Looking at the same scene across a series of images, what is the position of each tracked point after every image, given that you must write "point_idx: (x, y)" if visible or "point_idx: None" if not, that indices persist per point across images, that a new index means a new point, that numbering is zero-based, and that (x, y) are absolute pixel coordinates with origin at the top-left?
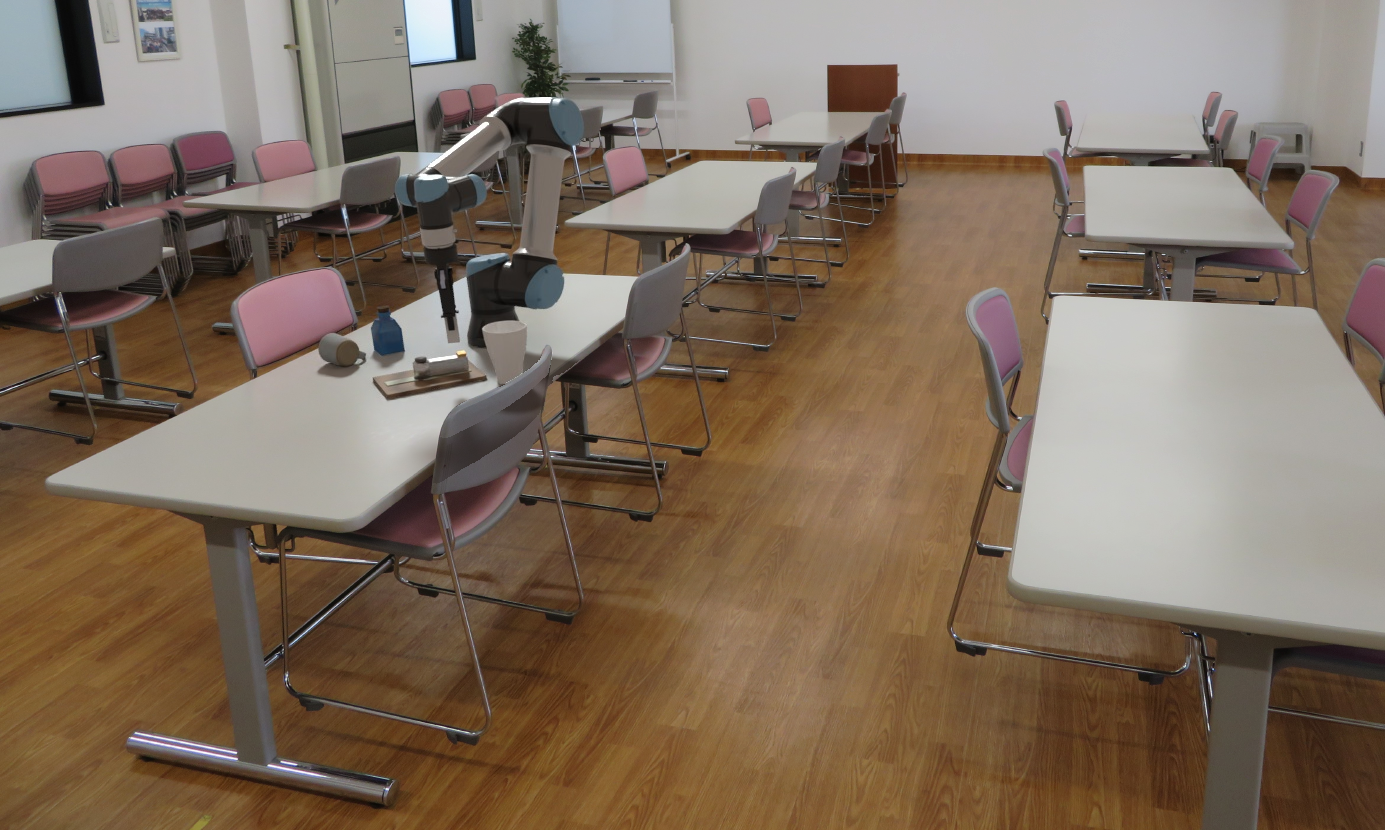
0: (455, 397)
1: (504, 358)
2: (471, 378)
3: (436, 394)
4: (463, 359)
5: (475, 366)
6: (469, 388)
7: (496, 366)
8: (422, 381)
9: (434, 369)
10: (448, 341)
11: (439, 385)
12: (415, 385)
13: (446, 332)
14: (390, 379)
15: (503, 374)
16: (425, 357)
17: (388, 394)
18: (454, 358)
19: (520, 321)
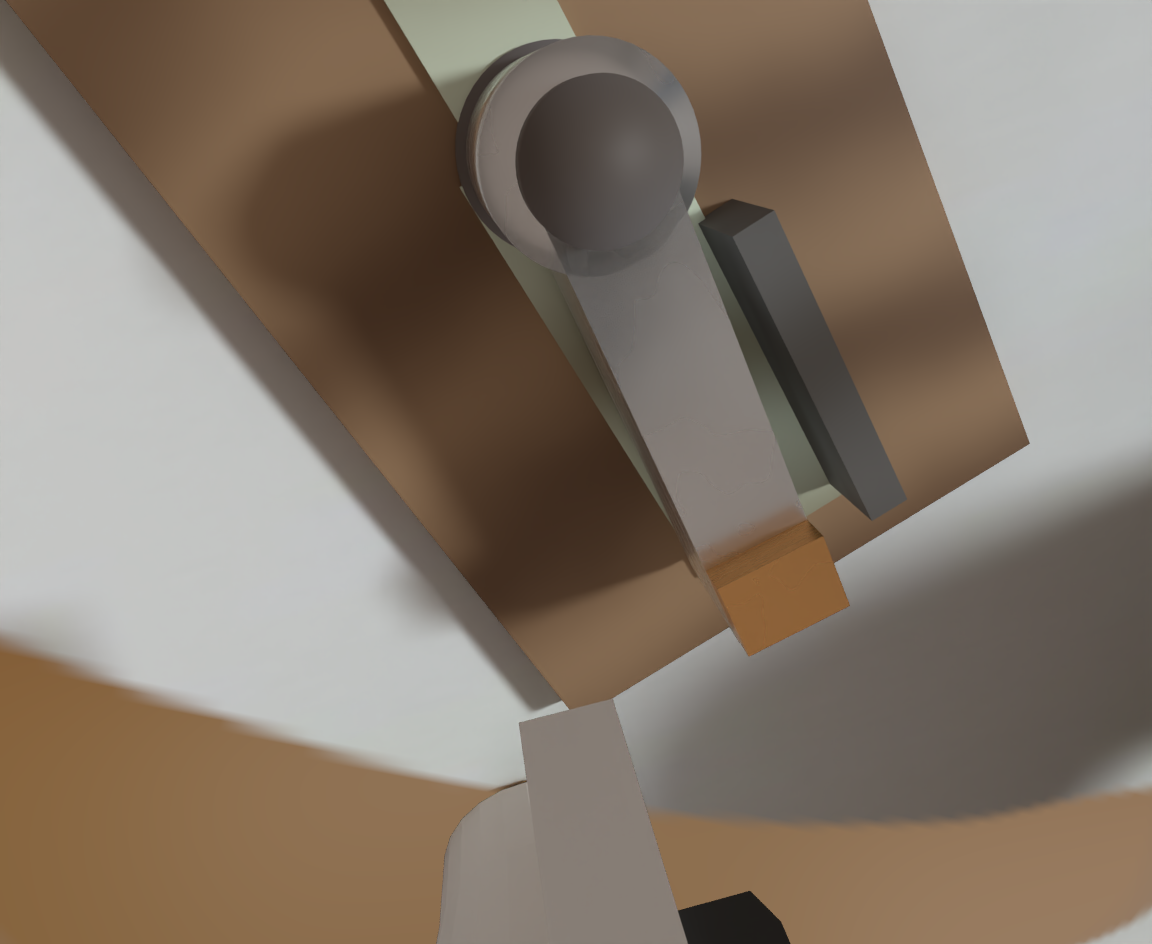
0: (104, 601)
1: None
2: (508, 631)
3: (162, 407)
4: (714, 595)
5: None
6: (352, 638)
7: (452, 939)
8: (423, 184)
9: (574, 308)
10: (525, 750)
11: (325, 401)
12: (286, 140)
13: (540, 864)
14: None
15: (440, 920)
16: (637, 227)
17: None
18: (690, 534)
19: None
